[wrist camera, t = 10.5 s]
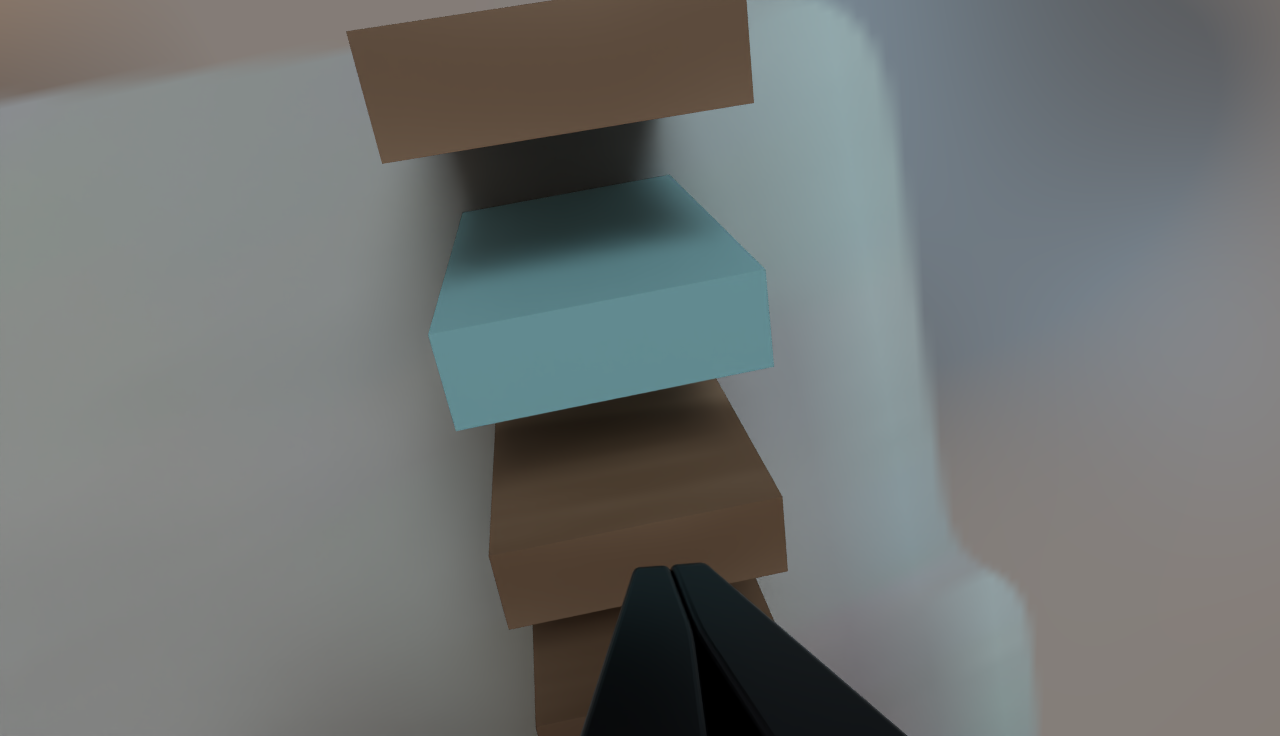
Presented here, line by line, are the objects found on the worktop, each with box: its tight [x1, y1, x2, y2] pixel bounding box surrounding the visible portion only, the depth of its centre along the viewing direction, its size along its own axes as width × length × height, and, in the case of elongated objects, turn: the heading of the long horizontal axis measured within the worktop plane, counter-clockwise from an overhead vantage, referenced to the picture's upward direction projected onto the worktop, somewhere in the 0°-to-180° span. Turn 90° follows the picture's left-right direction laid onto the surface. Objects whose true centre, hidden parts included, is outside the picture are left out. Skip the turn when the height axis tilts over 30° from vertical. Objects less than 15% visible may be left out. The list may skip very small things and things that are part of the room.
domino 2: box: [489, 378, 788, 630], centre depth 17 cm, size 2×5×8 cm, turn 98°
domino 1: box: [347, 0, 754, 164], centre depth 14 cm, size 2×5×8 cm, turn 98°
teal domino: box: [428, 175, 774, 431], centre depth 15 cm, size 2×5×8 cm, turn 99°
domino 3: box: [533, 578, 774, 736], centre depth 19 cm, size 2×5×8 cm, turn 98°
